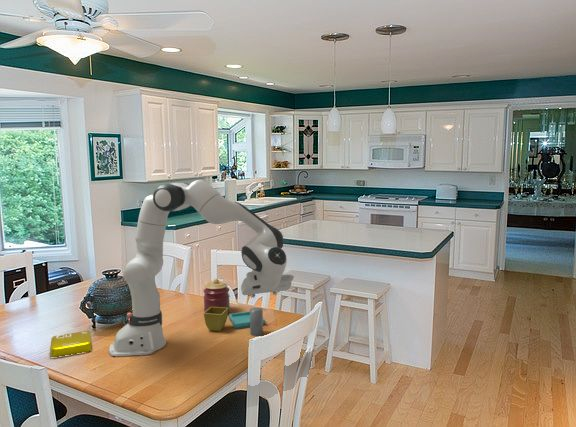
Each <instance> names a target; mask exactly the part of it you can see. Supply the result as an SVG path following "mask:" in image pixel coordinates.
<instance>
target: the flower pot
mask: <svg viewBox="0 0 576 427" xmlns="http://www.w3.org/2000/svg"><path fill="white" fill-rule="evenodd" d="M228 315H229V313H228V308H223V307H210V308H209V309H208V310H207V311H206V312H204V311H203V317H204V322H205V326H206V328H207V329H208V330H209V331H210V332H221V331H222V330H223V328H224V327H225V326H226V323H227V319H228Z"/></svg>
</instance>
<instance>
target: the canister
mask: <svg viewBox="0 0 576 427" xmlns="http://www.w3.org/2000/svg"><path fill="white" fill-rule="evenodd" d="M228 285H229V284H227V282H225V281H222V280H219V278H214V279H213V280H212V281H209V282H207V283H206V284H205V285H204V289H203V294H204V296H203V306H204V308H203V313H204V312H206V311H207V310H208V309H209V308H210V307H223V308H228V314H230V310H231V306H230V297H231V296H230V294H229V291H230V288H229V287H228Z"/></svg>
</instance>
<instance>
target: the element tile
mask: <svg viewBox="0 0 576 427" xmlns="http://www.w3.org/2000/svg"><path fill="white" fill-rule="evenodd" d="M91 333H92V332H91V331H90V330H84V331H83V330H82V331H78V332H72V333H65V334H59V335H54V336H52V337H51V339H50V358H51V357H59V356H65V355H71V354H77V353H82V352H88V353H90V352H92V351H93V346H92V334H91ZM91 350H92V351H91ZM89 351H90V352H89ZM77 355H78V354H77ZM71 356H72V355H71Z"/></svg>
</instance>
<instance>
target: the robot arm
mask: <svg viewBox="0 0 576 427" xmlns="http://www.w3.org/2000/svg"><path fill="white" fill-rule="evenodd" d="M191 207H193V208H194V210H196V212H197V213H198V214H199V215H200V216H201V217H202V218H203V219H204V220H205V221H207V222H208V223H210V224H214V225H222V224H227V223H230V222H234V221H235V222H242V223H244V224H245V225H246V226H248V227H249V228H251V229H252V230H253V231H254V232H256V233H257V235H256V236H255V237H254V238H252V239H250V240H249V241H247V243H245V245H244V246H242V247H241V252H240V253H241V258H242V261H243V263H244V264H245V265H246V267H248V268H249V269H250V270H252V271H249V272H246V277H244V279H243V280H242V283H241V285H240V289H241V294H242V295H243V296H249V295H250V297H251V299H254V298H256V295H257V294H265V293H266V294H267V293H272V295H273V296H276V295H278V293H280V292H283V291H288V290H290V289H291V287H292V281H293V280H294V278H295V276H294V275H292V274H288V273H287V274H286V273H285V270H286V266H287V263H288V262H287V261H288V259H287V254H286V252H285V250H283V249H282V248H283V247H284V241H285V240H284V235H283V234H282V232H281V231H280V230H279V229H278V228H276V227H275V226H273V225H271V224H269V223H268V222H266V221H265V220H264V219H262V218H261V217H260V216H258V214H256V213H255V212H253V211H252V210H251V209H249V208H248V207H246V206H245V205H244V204H242V203H240V202H236V201H232V200H229V199H227V198H226V197H224V196H223V195H222V194H221V193H220V192H219V191H217V189H215V188H214V187H213V186H212V185H211V184H209V183H208V182H206V181H205V180H202V179H197V180H194V181H192V182H190V183H186V182H172V183H164V184H161V185H159V186H158V187H156V188H155V189H154V191H153V194H150V195H147V196H146V197H144V199H143V202H142V205H141V207H140V211H139V215H138V219H137V220H138V221H137V224H136V231H135V237H134V239H135V242H136V255H135V257H134V258H132V259H131V260H129V261H128V262H127V263H126V265H125V267H124V268H123V271H122V275H123V276H122V277H123V279H124V281H125V282H126V283H127V284H128V289H129V291H130V296H131V304H132V305H131V307H132V312H127V314H126V319H127V323H126V325H124V326H123V327H122V328H121V329H119V330H118V331H117V332H116V335H115V337H114V341H113V342H112V343H111V344H110V345H109V346H108V347H109V349H108V353H109V355H110V356H111V357H113V356H115V357H129V356H144V355H151V354H154V353H155V352H156V351H158V350H160V349H162V348H164V347H165V346H166V344H167V341H166V338H165V335H164V331H163V312H162V309H161V298H160V297H161V294H160V292H159V290H158V288H157V284H156V276H157V275H158V274H159V273H160V272H161V271H162V268H163V265H164V241H165V240H164V238H165V234H166V229H167V221H168V217H169V214H170V212H176V211H181V210H186V209H189V208H191ZM284 273H285V274H284ZM115 357H114V358H115Z"/></svg>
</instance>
